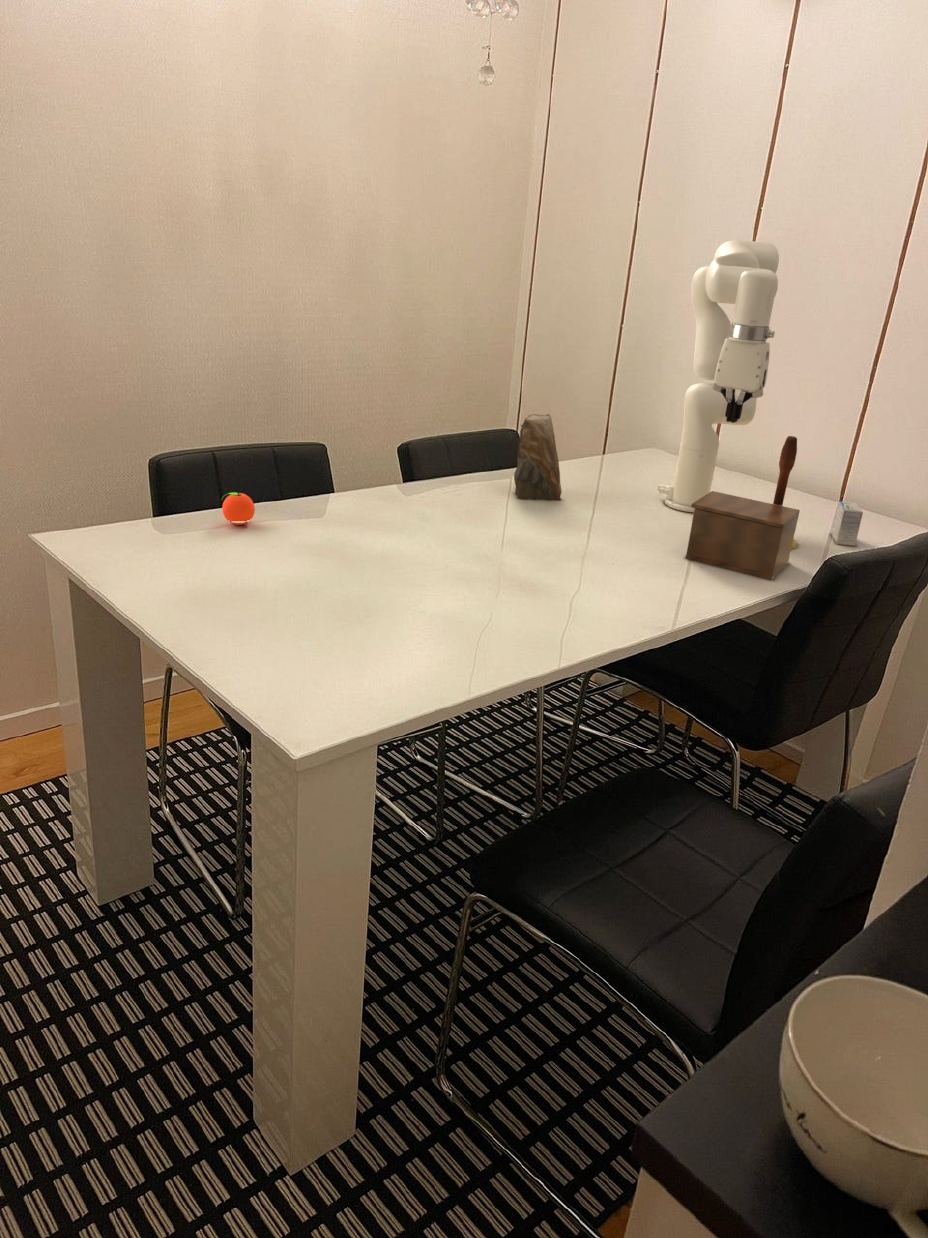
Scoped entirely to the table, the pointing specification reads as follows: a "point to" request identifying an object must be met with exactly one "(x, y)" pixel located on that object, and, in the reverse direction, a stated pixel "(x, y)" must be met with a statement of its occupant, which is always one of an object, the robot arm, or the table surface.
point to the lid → (746, 509)
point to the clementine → (238, 508)
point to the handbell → (785, 471)
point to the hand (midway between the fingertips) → (731, 421)
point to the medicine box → (847, 523)
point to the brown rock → (537, 460)
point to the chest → (740, 543)
